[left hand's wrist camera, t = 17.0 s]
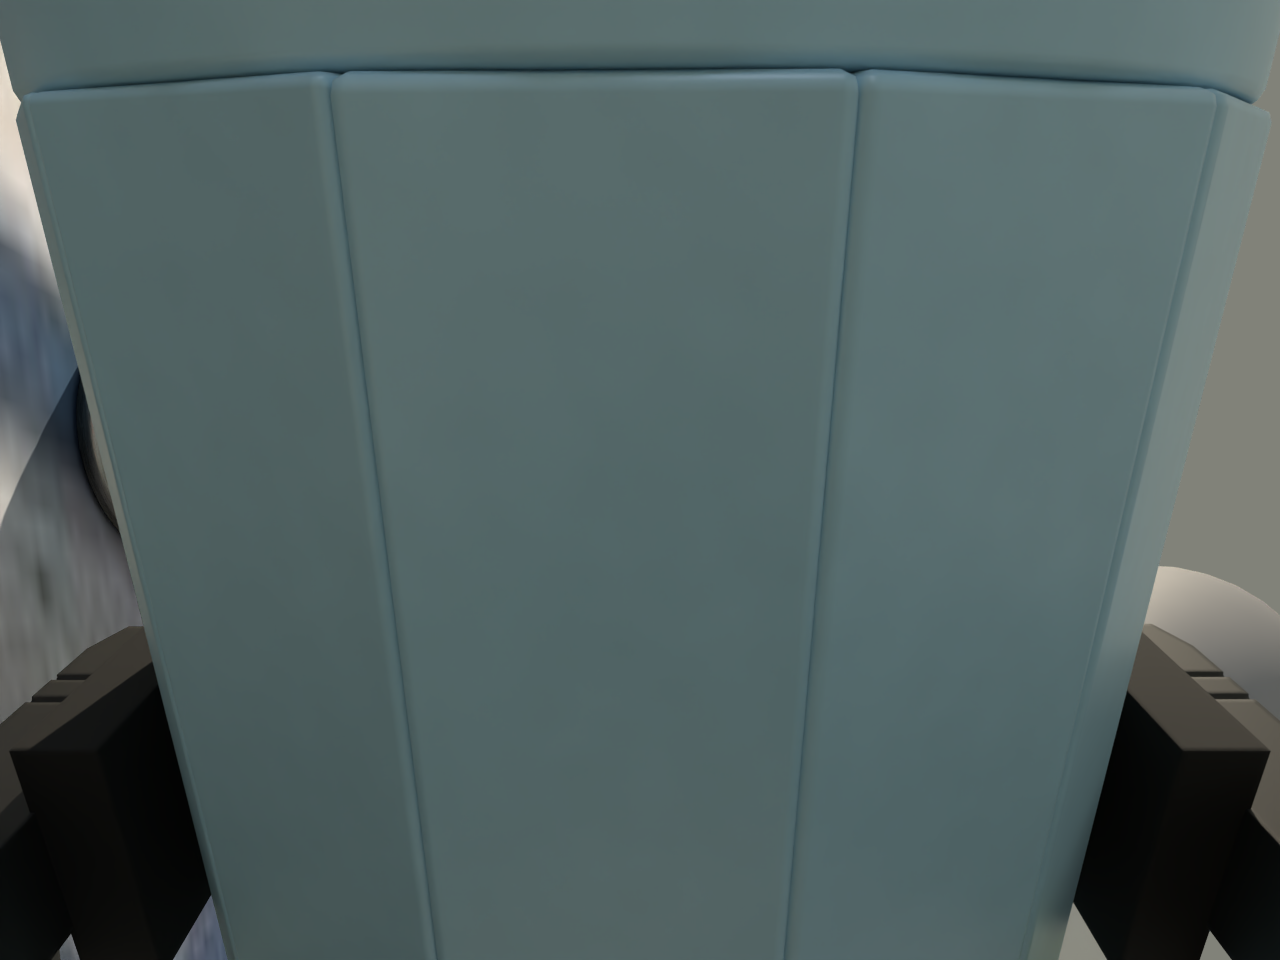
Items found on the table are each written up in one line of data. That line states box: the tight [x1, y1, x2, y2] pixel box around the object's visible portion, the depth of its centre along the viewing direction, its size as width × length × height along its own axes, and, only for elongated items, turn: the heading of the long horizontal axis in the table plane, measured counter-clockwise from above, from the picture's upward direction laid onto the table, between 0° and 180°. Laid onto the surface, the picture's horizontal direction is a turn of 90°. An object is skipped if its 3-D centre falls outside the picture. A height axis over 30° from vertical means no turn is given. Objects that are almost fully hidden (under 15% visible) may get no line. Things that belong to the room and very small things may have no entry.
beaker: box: [0, 0, 1280, 960], centre depth 9 cm, size 9×9×12 cm
